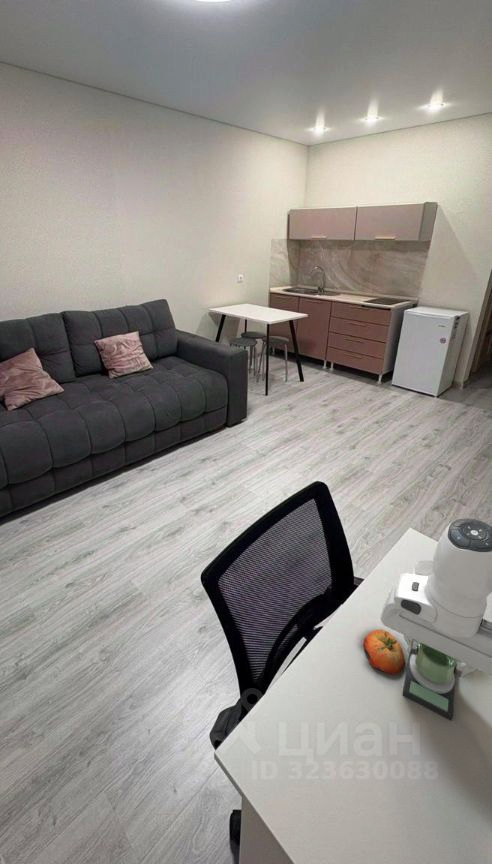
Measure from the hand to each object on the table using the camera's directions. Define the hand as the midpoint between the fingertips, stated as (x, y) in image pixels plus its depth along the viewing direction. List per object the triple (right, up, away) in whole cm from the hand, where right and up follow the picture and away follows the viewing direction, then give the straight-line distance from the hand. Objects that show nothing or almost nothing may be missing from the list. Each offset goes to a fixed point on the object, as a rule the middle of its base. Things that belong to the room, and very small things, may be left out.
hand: (434, 661), depth 73 cm
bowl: (0, -2, +1) cm, 2 cm away
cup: (+6, 0, +14) cm, 15 cm away
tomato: (-7, -3, +6) cm, 10 cm away
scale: (0, -5, +2) cm, 5 cm away
